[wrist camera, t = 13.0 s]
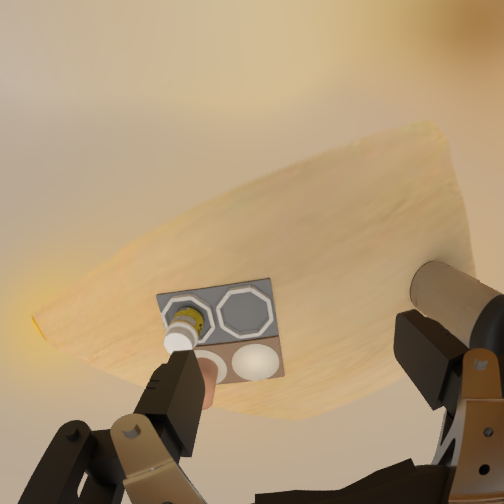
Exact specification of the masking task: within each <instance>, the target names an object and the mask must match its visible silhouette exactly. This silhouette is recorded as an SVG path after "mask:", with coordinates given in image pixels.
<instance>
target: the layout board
mask: <svg viewBox="0 0 504 504" xmlns="http://www.w3.org/2000/svg"><path fill="white" fill-rule="evenodd" d="M156 298H157V301H158V305H159V308H160V311H161V317H162V321H163V324H164V327H165V330H167V328H168V326H169V324H170V322H171V321H172V319H173V317H174V315H175V314H176V312H177V311H178V309H179V308H181V307H183V306H187V305H189V306H194V307H196V308H198V309H199V310H200V311H201V312H202V314H203V316H204V325H203V328H202V331H201V334H200V337H199V340H198V343H197V346H195V347H194V348H193V349H192V350H193V351H194V353H195V355H196V358H197V361H198V364H199V367H200V370H201V373H202V376H203V379H204V382H205V398H204V402H203V407H202V410H204V409H207V408H209V407H210V406H211V405H212V403H213V397H214V392H215V386H216V384H227V383H238V382H247V381H260V380H265V379H271V378H278V377H284V370H283V363H282V356H281V349H280V342H279V335H278V328H277V322H276V315H275V309H274V302H273V295H272V289H271V283H270V278H267V279H261V280H255V281H248V282H242V283H235V284H229V285H222V286H215V287H208V288H201V289H194V290H187V291H179V292H172V293H164V294H157V295H156ZM274 335H277V336H274ZM267 336H271V337H267ZM261 337H264V338H261ZM254 338H257V339H254ZM246 339H250V340H246ZM238 340H243V341H238ZM230 341H235V342H230ZM222 342H226V343H222ZM212 343H217V344H212ZM202 344H207V345H202Z"/></svg>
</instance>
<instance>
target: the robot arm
mask: <svg viewBox="0 0 504 504" xmlns="http://www.w3.org/2000/svg"><path fill="white" fill-rule="evenodd" d="M410 295H411V300H412V302H413V304H414V305H415V306H416V307H417V308H418V309H419V310H420V311H422V312H423V313H424V314H425V315H426V316H428V317H429V318H428V317H426V318H425V317H424V316H423V315H422V314H421V313H419V312H418V311H417V310H416V309H412V310H409V311H405V312H402V313H399V314H397V316H396V323H395V336H394V354H395V357H396V360H397V361H398V362H399V364H400V365H401V366H402V368H403V369H404V371H405V372H406V373H407V375H408V376H409V377H410V379H411V380H412V381H413V383H414V384H415V386H416V387H417V388H418V390H419V391H420V392H421V394H422V395H423V397H424V398H425V400H426V401H427V403H428V404H429V405H430V407H431V408H432V410H433V411H434V410H436V409H438V408H440V407H442V406H444V407H445V408H446V410H445V413H444V417H443V422H442V428H441V432H440V437H439V441H438V445H437V450H436V453H435V456H434V459H433V461H432V463H431V465H418V466H414V464H413V461H412V459H411V458H410V459H407V460H405V461H402V462H400V463H397V464H395V465H392V466H389V467H387V468H384V469H381V470H378V471H376V472H374V473H372V474H370V475H368V476H367V477H365V478H363V479H361V480H359V481H357V482H355V483H353V484H351V485H349V486H347V487H345V488H343V489H340V490H330V491H309V490H307V491H306V490H292V491H284V492H275V493H263V494H255V503H252V504H504V294H502V293H500V292H498V291H496V290H494V289H492V288H490V287H488V286H487V285H485V284H483V283H481V282H480V281H479V280H477V279H475V278H473V277H471V276H469V275H467V274H465V273H463V272H461V271H459V270H457V269H455V268H453V267H451V266H449V265H444V264H442V263H440V262H437V261H432V262H428V263H426V264H425V265H424V266H422V267H421V268H420V269H419V270H418V272H417V273H416V275H415V277H414V279H413V281H412V285H411V290H410ZM204 398H205V382H204V379H203V376H202V373H201V370H200V367H199V364H198V361H197V358H196V355H195V353H194V351H193V350H180V351H173V352H172V354H171V356H170V359H169V361H168V363H167V364H162V365H161V366H160V367H158V368H157V369H156V370H155V371H154V372H153V374H152V376H151V378H150V382H148V384H147V386H146V389H145V390H144V392H143V394H142V396H141V398H140V401H139V402H138V404H137V406H136V408H135V411H134V412H133V414H128V415H125V416H123V417H121V418H119V419H118V420H116V421H115V422H114V424H113V425H112V427H111V429H107V430H97V431H92V430H91V429H90V428H89V426H88V425H87V424H86V423H85V422H83V421H80V420H74V421H70V422H68V423H65V424H64V425H62V426H61V427H60V428H59V430H58V432H57V433H56V434H55V436H54V438H53V440H52V441H51V443H50V444H49V446H48V448H47V450H46V451H45V453H44V455H43V457H42V458H41V460H40V462H39V464H38V466H37V467H36V469H35V471H34V473H33V475H32V476H31V478H30V480H29V482H28V485H27V486H26V488H25V490H24V492H23V494H22V496H21V498H20V500H19V502H18V504H121V501H122V497H123V494H124V490H125V489H126V492H127V494H128V496H129V498H130V501H131V502H132V504H208V503H207V502H206V501H205V500H204V498H203V497H202V496H201V495H200V494H199V492H198V491H197V489H196V488H195V487H194V486H193V484H192V483H191V481H190V480H189V479H188V477H187V476H186V475H185V473H184V472H183V470H182V469H181V467H180V466H179V465H178V464H179V460H180V457H191V456H192V452H193V448H194V443H195V438H196V434H197V429H198V425H199V420H200V416H201V411H202V407H203V402H204ZM84 472H85V473H86V474H87V475H88V477H87V479H86V481H85V484H84V486H83V489H82V491H81V494H80V497H79V498H78V494H77V490H78V486H79V484H80V482H81V479H82V477H83V475H84Z"/></svg>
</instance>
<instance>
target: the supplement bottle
mask: <svg viewBox="0 0 504 504" xmlns="http://www.w3.org/2000/svg"><path fill="white" fill-rule="evenodd" d="M203 325H204V316H203V314H202V312H201V311H200V310H199V309H198V308H196V307H194V306H189V305H187V306H183V307H181V308H179V309H178V311H177V312H176V314H175V315H174V317H173V319H172V321H171V322H170V324H169V326H168V328H167V330H166V337H165V339H164V347H165V349H166V350H167V351H168V353H170V354H172V352H173V351H180V350H192V349H193V348H194V347H195V346H196V345H197V343H198V340H199V337H200V334H201V331H202V328H203Z"/></svg>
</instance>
